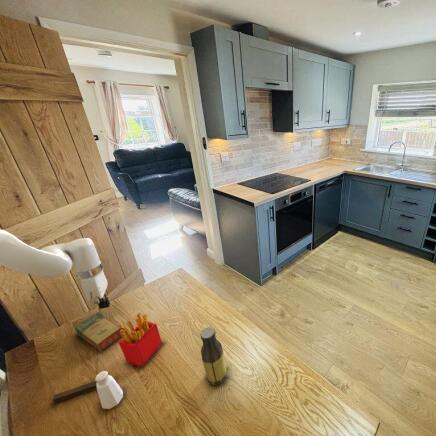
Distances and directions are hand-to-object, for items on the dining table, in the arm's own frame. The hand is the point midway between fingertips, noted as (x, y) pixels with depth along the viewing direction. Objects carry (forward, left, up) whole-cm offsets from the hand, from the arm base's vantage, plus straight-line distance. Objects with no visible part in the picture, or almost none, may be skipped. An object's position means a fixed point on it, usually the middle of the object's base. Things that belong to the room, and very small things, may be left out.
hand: (105, 306), depth 97 cm
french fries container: (+16, -26, -5) cm, 30 cm away
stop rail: (+1, -33, -4) cm, 33 cm away
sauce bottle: (+38, -44, -5) cm, 58 cm away
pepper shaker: (+9, -39, -5) cm, 40 cm away
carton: (0, -11, -5) cm, 11 cm away
